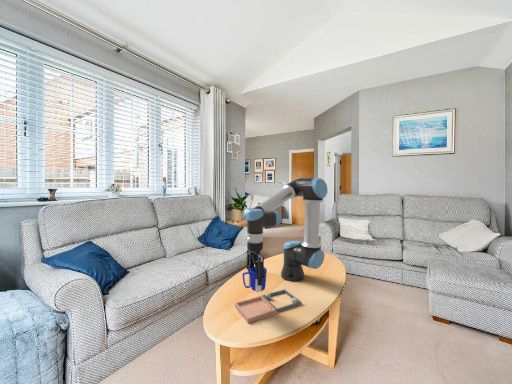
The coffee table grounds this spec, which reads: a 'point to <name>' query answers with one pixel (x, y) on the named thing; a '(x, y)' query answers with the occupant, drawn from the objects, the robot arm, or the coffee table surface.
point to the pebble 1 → (267, 295)
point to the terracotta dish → (255, 309)
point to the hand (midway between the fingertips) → (254, 287)
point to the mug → (253, 280)
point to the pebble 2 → (294, 300)
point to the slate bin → (283, 306)
